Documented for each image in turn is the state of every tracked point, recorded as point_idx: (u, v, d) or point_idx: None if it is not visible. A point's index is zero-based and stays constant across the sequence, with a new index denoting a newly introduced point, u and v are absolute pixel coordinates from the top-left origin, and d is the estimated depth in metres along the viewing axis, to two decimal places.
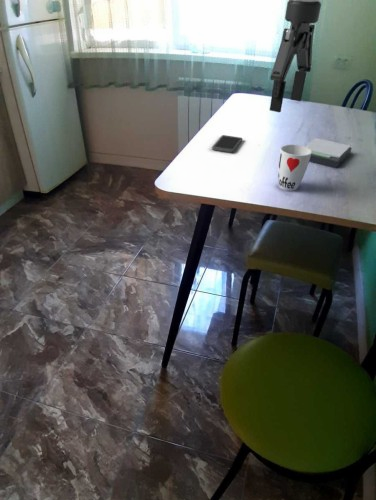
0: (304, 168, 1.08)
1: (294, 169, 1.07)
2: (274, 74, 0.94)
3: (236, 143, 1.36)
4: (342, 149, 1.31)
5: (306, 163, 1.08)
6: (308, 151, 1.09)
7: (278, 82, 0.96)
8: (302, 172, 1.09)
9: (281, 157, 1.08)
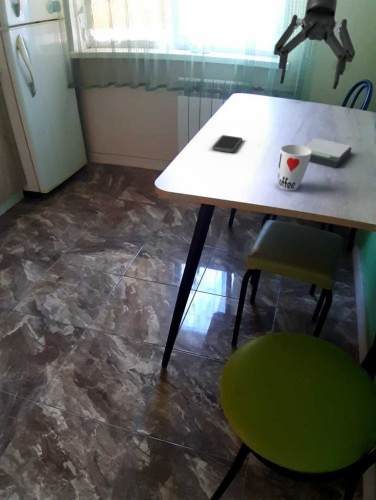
0: (304, 168, 1.08)
1: (294, 169, 1.07)
2: None
3: (236, 143, 1.36)
4: (342, 149, 1.31)
5: (306, 163, 1.08)
6: (308, 151, 1.09)
7: (280, 55, 1.06)
8: (302, 172, 1.09)
9: (281, 157, 1.08)
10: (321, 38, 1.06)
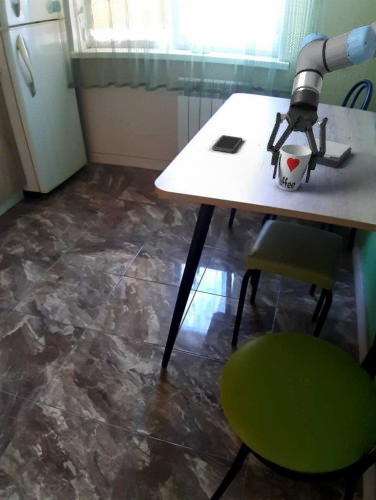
0: (304, 168, 1.08)
1: (294, 169, 1.07)
2: (267, 147, 1.11)
3: (236, 143, 1.36)
4: (342, 149, 1.31)
5: (306, 163, 1.08)
6: (308, 151, 1.09)
7: (272, 152, 1.10)
8: (302, 172, 1.09)
9: (281, 157, 1.08)
10: (304, 131, 1.10)
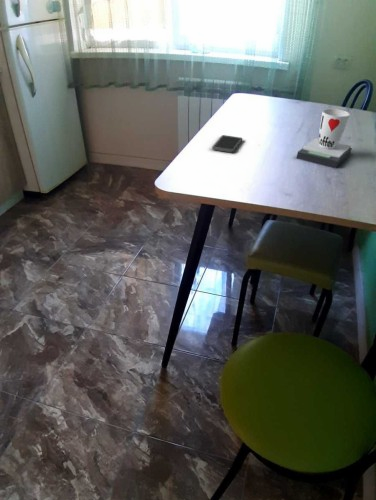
0: (343, 128, 1.26)
1: (335, 128, 1.26)
2: None
3: (236, 143, 1.36)
4: (342, 149, 1.31)
5: (345, 124, 1.26)
6: (346, 114, 1.27)
7: None
8: (341, 132, 1.27)
9: (323, 119, 1.26)
10: None
